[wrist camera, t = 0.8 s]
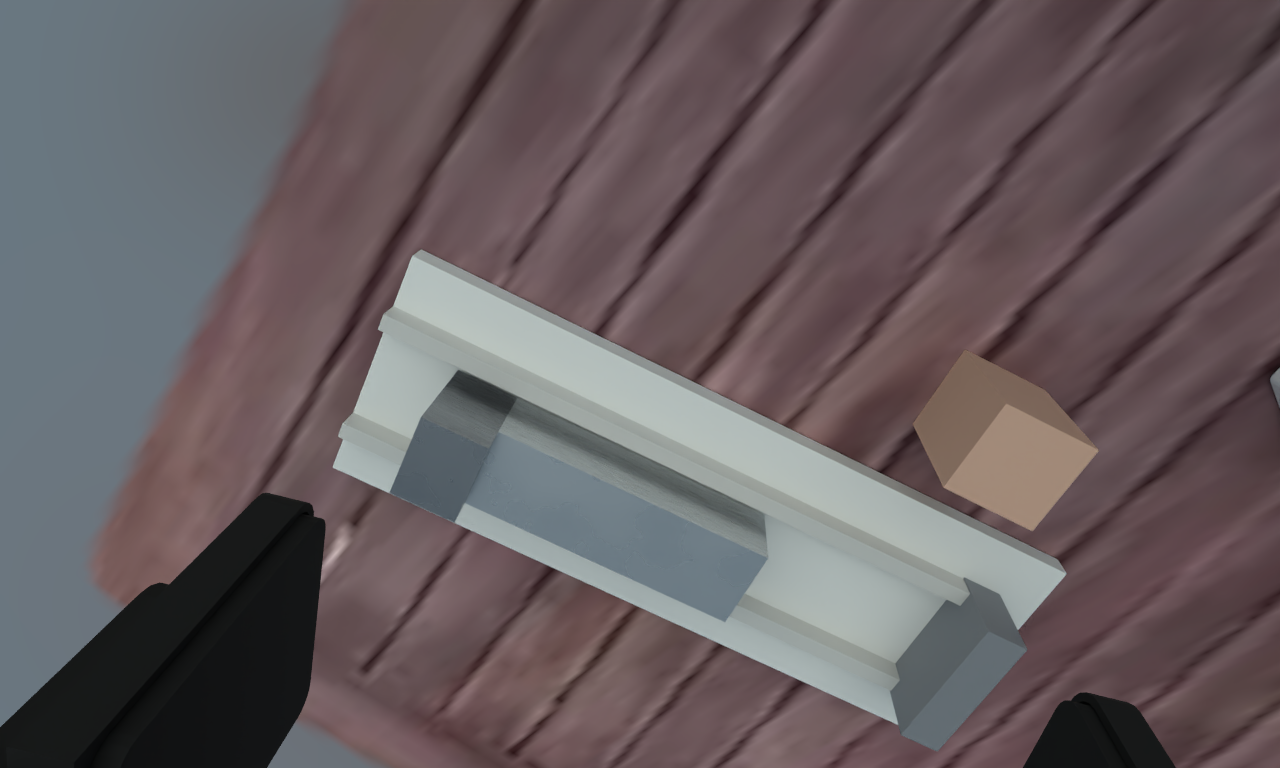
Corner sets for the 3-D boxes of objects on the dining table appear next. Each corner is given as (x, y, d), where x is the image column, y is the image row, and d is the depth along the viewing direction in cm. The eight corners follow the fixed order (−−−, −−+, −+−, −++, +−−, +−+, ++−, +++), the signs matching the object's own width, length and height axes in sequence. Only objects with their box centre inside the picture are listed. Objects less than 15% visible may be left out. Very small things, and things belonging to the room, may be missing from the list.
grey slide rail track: (421, 249, 38) (378, 280, 33) (1057, 559, 41) (1101, 628, 36) (342, 456, 42) (294, 509, 38) (920, 720, 46) (943, 800, 41)
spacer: (964, 349, 37) (1006, 403, 32) (1044, 389, 38) (1099, 450, 32) (912, 423, 39) (943, 487, 34) (989, 461, 39) (1032, 531, 34)
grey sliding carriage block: (458, 369, 38) (420, 417, 34) (764, 514, 40) (770, 580, 35) (428, 438, 40) (389, 492, 35) (724, 575, 41) (725, 645, 37)
